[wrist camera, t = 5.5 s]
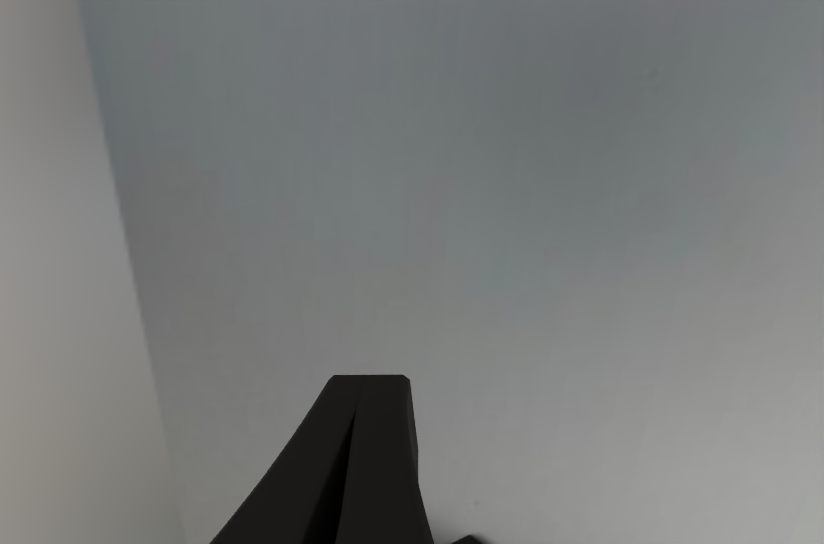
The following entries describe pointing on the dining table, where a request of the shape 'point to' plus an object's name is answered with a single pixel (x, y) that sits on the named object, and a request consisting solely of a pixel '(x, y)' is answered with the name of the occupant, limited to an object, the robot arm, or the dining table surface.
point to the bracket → (467, 541)
